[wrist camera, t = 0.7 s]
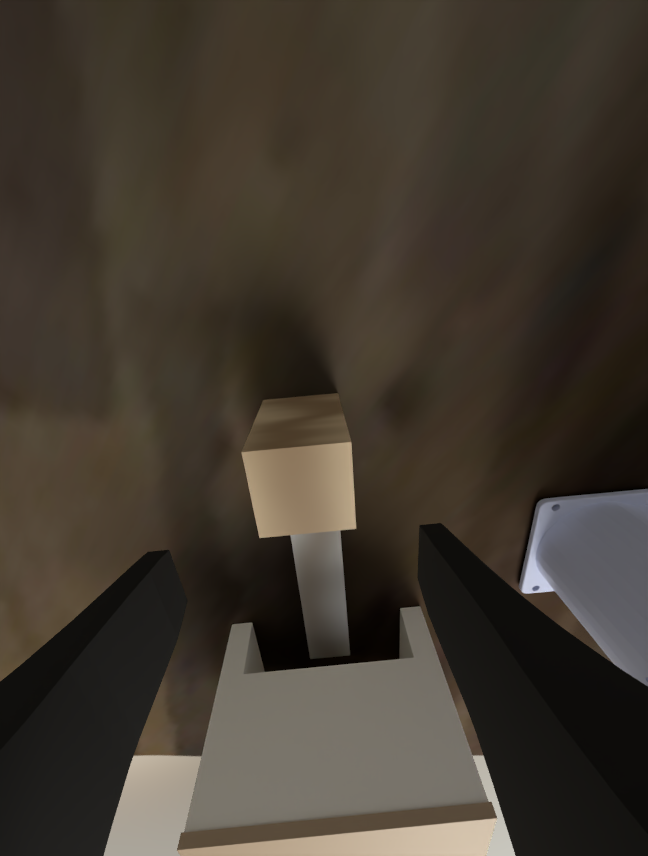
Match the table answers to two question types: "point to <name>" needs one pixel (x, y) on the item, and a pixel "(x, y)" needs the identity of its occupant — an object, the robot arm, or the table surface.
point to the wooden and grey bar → (307, 503)
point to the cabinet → (337, 759)
